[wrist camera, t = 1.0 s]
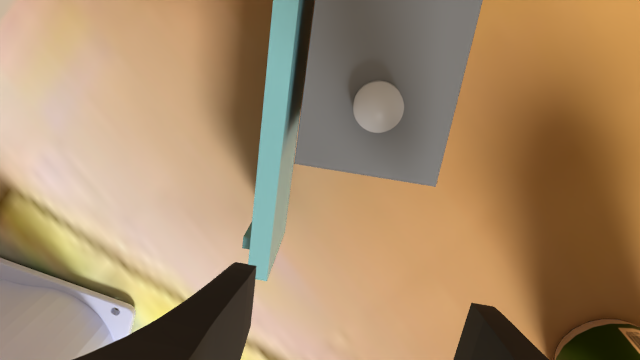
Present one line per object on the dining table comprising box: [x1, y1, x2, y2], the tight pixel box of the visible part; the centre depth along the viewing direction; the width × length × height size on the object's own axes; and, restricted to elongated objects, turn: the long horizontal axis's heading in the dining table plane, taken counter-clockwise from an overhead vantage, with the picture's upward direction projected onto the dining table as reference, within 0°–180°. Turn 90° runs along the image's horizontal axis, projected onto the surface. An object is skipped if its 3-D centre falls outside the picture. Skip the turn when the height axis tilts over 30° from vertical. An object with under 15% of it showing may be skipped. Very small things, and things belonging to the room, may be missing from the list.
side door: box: [242, 0, 314, 281], centre depth 17 cm, size 12×1×4 cm, turn 172°
